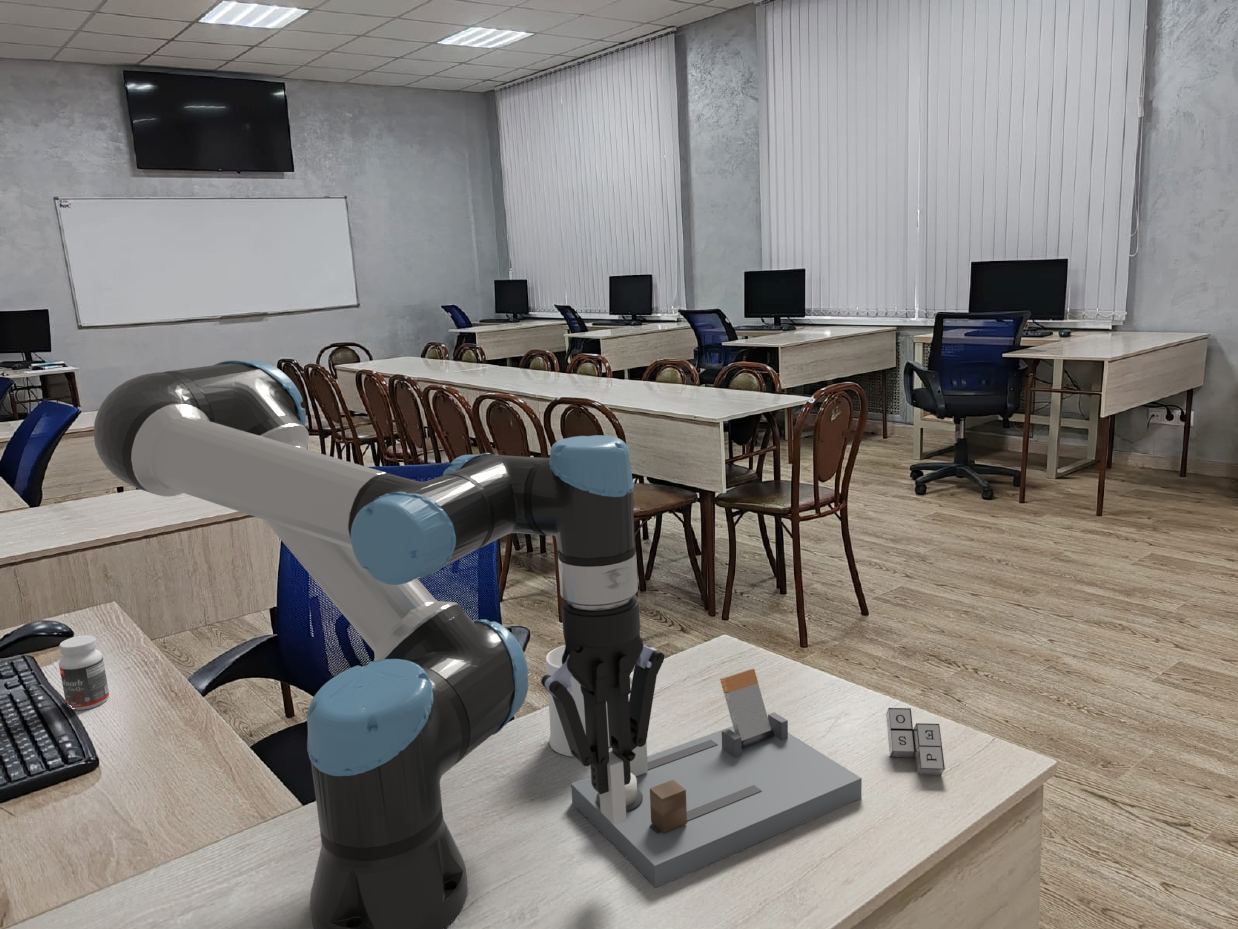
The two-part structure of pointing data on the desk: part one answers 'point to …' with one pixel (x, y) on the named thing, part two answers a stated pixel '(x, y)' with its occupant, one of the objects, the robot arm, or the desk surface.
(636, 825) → the panel
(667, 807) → the slider
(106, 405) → the robot arm
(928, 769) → the building blocks
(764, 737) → the lever
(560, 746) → the mug
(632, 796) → the button
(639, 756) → the slider
